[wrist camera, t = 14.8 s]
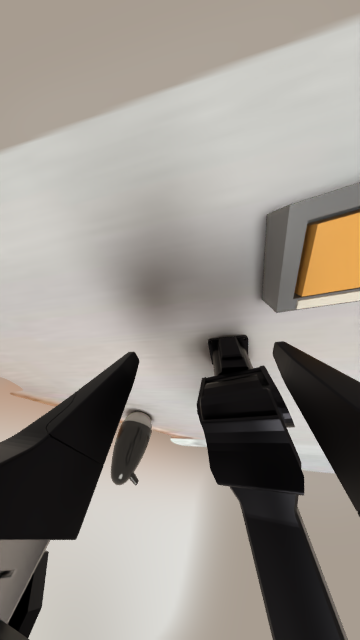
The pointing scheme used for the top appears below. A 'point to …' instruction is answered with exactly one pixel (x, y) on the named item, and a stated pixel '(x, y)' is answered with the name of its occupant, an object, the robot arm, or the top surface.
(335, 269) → the button
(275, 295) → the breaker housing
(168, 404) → the top surface
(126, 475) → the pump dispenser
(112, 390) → the robot arm
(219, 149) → the top surface
